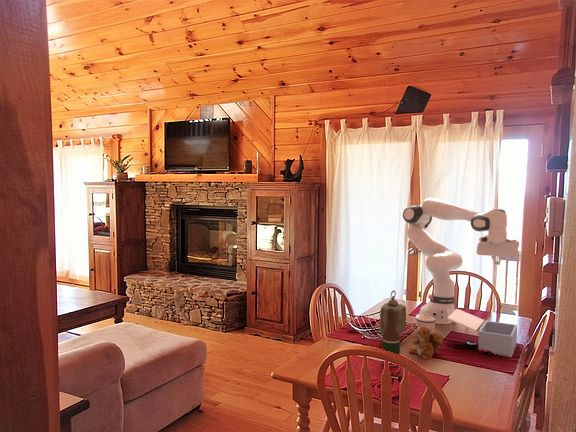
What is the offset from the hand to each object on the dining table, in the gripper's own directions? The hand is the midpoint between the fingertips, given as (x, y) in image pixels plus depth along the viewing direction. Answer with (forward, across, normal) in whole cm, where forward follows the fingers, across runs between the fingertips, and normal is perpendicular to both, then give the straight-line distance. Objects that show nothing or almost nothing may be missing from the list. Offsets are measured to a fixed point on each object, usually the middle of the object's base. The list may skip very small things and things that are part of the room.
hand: (496, 264), depth 244 cm
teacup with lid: (+35, +29, +32) cm, 56 cm away
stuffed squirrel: (+35, +19, +58) cm, 70 cm away
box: (+35, -6, +31) cm, 47 cm away
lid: (+23, +8, +31) cm, 39 cm away
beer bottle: (+35, +29, +78) cm, 90 cm away
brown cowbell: (+35, +39, +47) cm, 71 cm away
